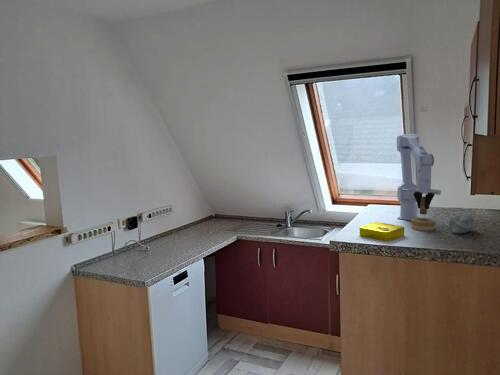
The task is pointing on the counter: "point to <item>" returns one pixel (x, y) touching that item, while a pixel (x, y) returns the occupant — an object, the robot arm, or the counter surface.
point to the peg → (423, 205)
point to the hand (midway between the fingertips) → (423, 208)
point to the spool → (461, 223)
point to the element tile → (382, 231)
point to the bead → (423, 224)
